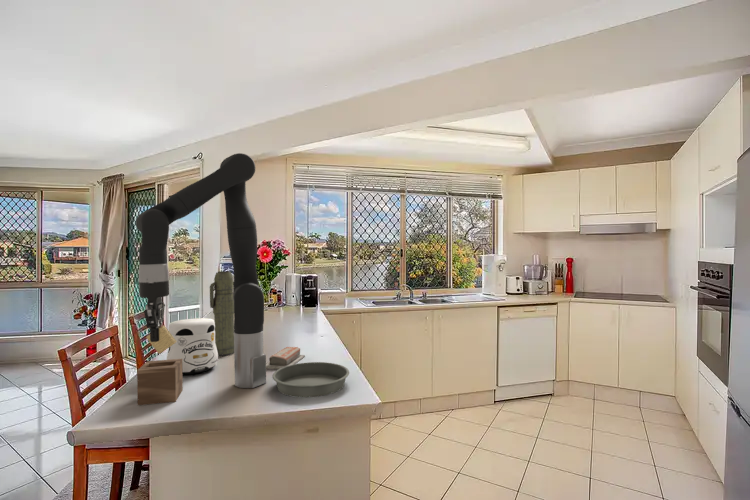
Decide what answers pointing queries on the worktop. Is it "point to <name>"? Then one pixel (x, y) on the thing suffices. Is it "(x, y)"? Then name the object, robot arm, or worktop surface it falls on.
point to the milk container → (194, 344)
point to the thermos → (223, 312)
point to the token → (163, 340)
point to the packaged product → (284, 358)
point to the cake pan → (310, 379)
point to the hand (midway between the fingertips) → (156, 340)
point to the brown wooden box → (159, 381)
